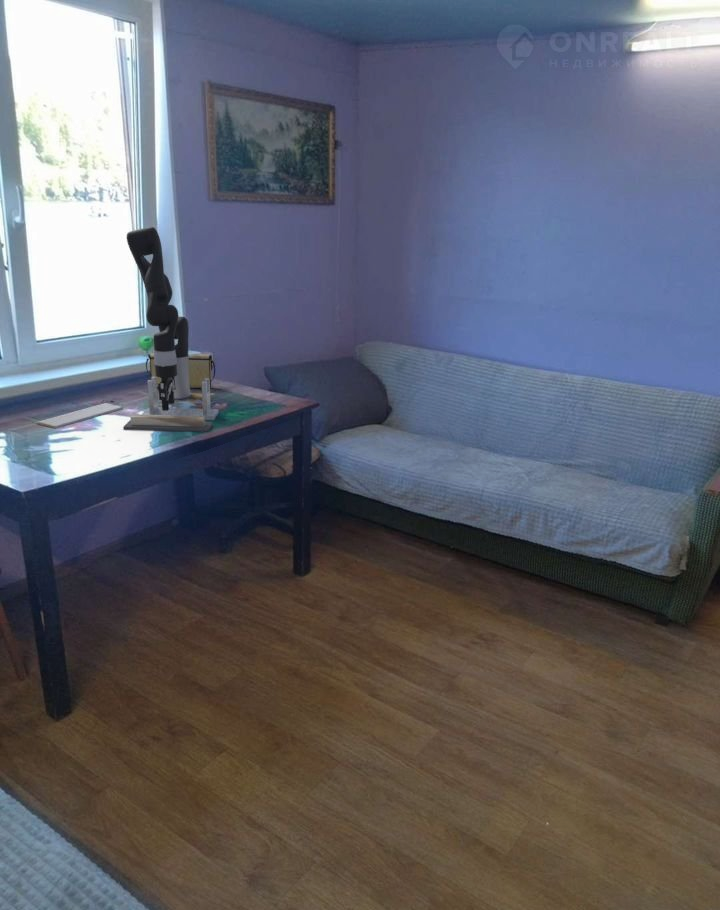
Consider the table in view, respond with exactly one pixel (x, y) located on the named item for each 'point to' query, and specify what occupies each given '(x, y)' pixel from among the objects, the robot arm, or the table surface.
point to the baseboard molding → (79, 415)
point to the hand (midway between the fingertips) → (168, 406)
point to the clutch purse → (191, 369)
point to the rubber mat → (168, 427)
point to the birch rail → (168, 420)
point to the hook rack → (155, 410)
